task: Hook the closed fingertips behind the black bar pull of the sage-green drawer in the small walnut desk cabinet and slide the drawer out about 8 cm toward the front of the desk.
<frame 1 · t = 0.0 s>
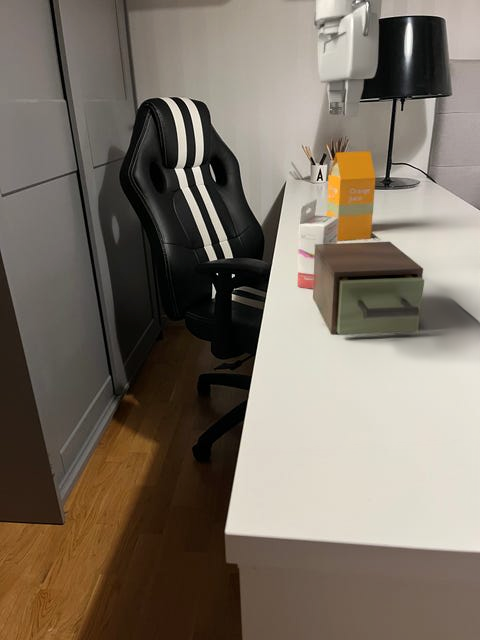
hand: (342, 115, 74), 29 cm above the table, tool pointing down, fingers open, 8 cm apart
orange juice: (347, 236, 125), on the table
ink cartridge box: (316, 282, 94), on the table
photo frame: (371, 259, 106), on the table
cabinet: (360, 313, 80), on the table
drawer: (371, 296, 74), point 5 cm above the table, slide at 1.0 cm
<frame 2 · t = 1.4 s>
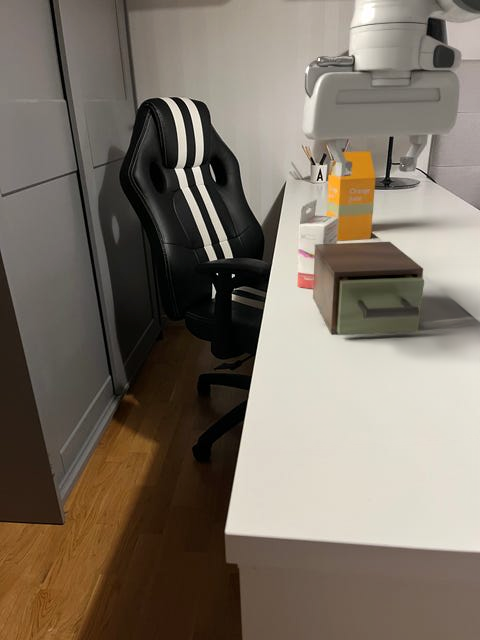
hand: (375, 173, 66), 22 cm above the table, tool pointing down, fingers open, 8 cm apart
nothing on the table moved.
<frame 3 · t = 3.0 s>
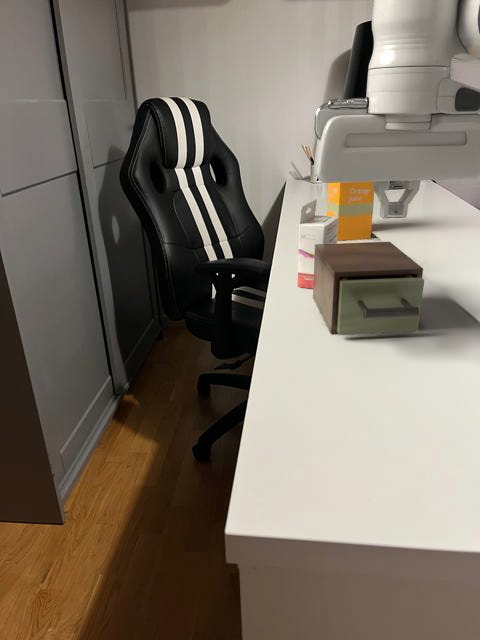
hand: (392, 217, 63), 18 cm above the table, tool pointing down, fingers closed
nothing on the table moved.
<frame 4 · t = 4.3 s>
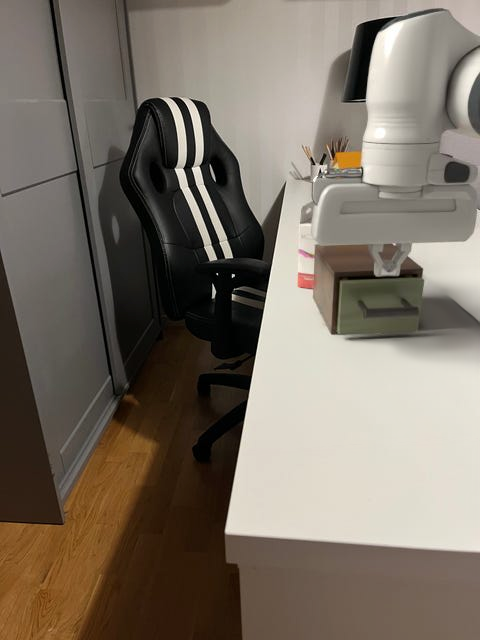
hand: (386, 275, 66), 10 cm above the table, tool pointing down, fingers closed
nothing on the table moved.
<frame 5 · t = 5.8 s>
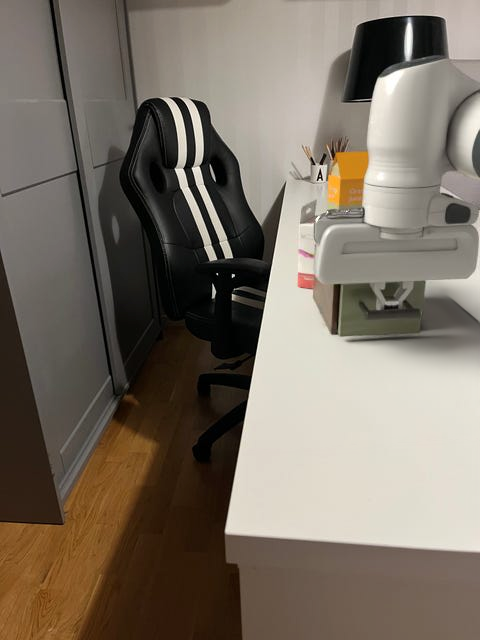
hand: (388, 311, 67), 6 cm above the table, tool pointing down, fingers closed, pressing on drawer
drawer: (372, 298, 73), point 5 cm above the table, slide at 1.6 cm, touching gripper
everything else where it was.
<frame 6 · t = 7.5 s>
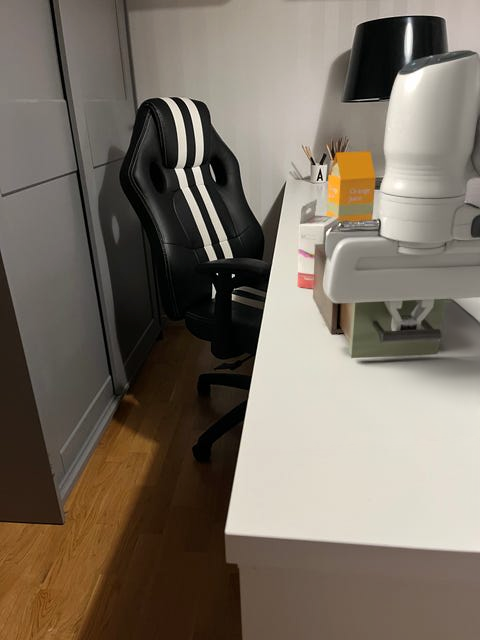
hand: (405, 331, 61), 6 cm above the table, tool pointing down, fingers closed, pressing on drawer
drawer: (386, 315, 67), point 5 cm above the table, slide at 8.0 cm, touching gripper
everything else where it was.
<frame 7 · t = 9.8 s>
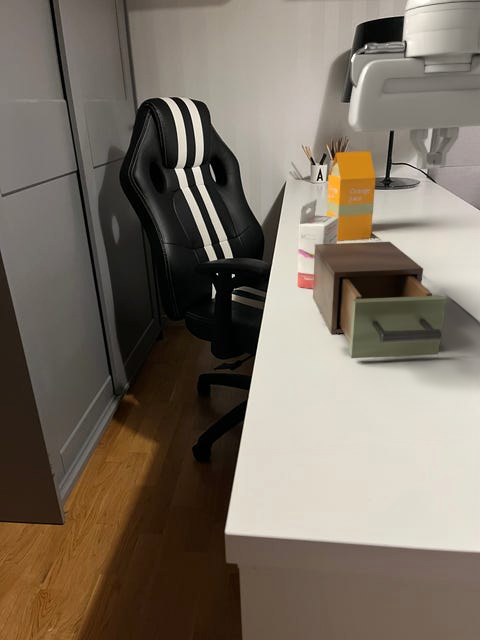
hand: (430, 168, 61), 24 cm above the table, tool pointing down, fingers closed
drawer: (386, 315, 67), point 5 cm above the table, slide at 8.0 cm
everything else where it was.
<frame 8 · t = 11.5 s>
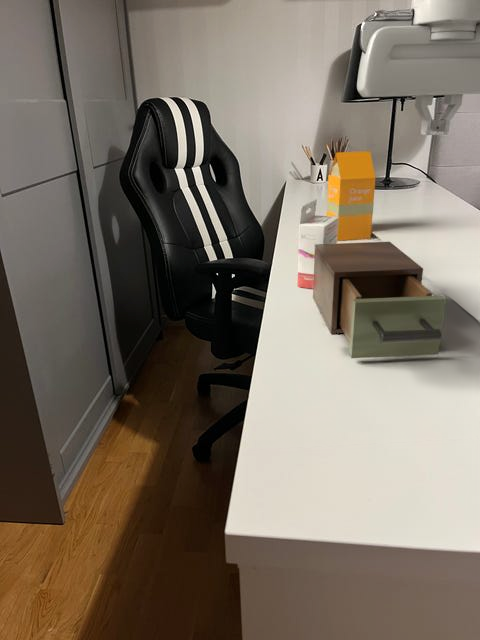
hand: (434, 134, 64), 27 cm above the table, tool pointing down, fingers closed
nothing on the table moved.
at the end: drawer slide at 8.0 cm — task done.
